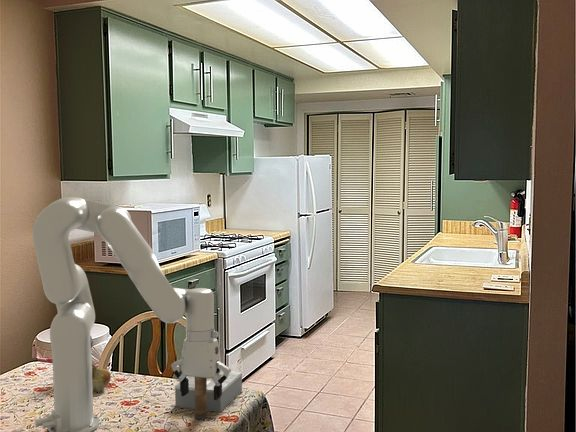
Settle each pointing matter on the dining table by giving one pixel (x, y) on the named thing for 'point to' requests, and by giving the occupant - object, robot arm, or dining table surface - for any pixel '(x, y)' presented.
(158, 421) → the dining table surface
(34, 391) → the dining table surface
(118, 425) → the dining table surface
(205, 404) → the brown rounded rod
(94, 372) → the onion
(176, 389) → the box
